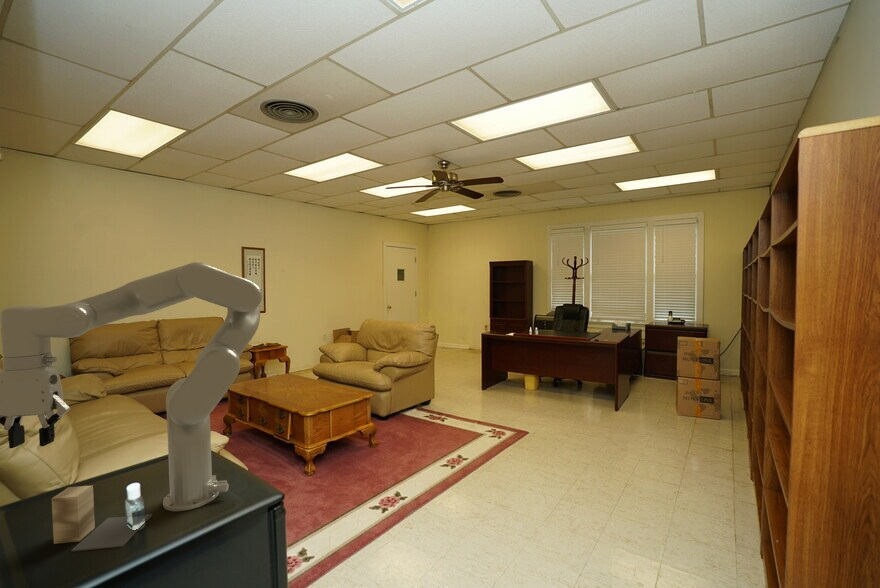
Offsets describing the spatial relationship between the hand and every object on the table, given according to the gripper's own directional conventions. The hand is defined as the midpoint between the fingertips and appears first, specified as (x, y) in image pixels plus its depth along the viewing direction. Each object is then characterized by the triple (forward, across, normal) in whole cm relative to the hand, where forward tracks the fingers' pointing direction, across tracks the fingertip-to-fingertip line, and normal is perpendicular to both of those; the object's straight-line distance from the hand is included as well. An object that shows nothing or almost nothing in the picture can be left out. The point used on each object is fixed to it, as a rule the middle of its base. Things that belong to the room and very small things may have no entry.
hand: (32, 444), depth 91 cm
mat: (+21, -16, 0) cm, 27 cm away
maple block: (+21, -8, 0) cm, 23 cm away
